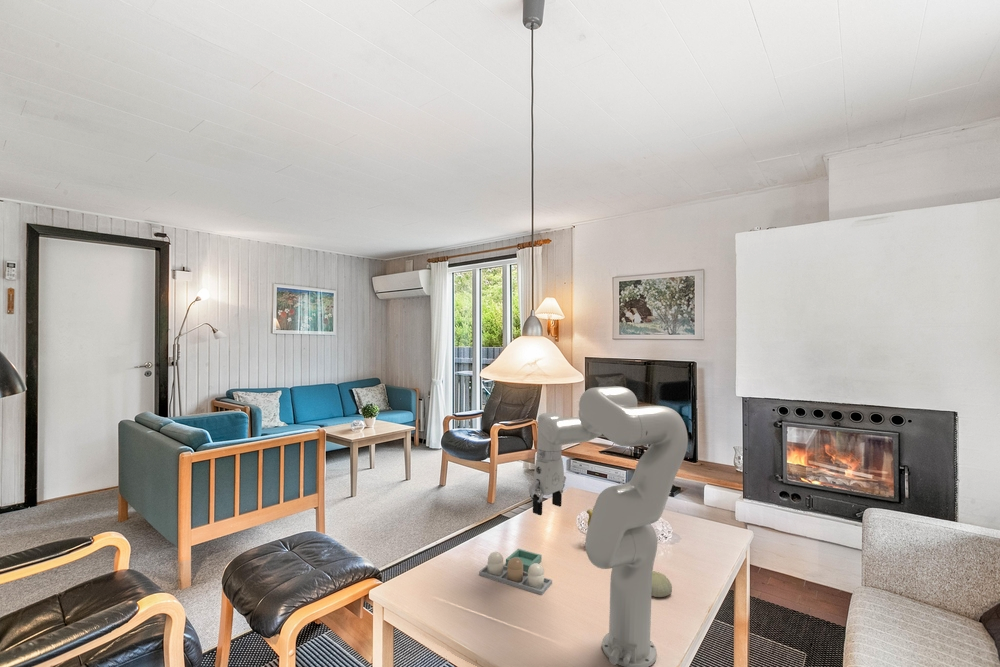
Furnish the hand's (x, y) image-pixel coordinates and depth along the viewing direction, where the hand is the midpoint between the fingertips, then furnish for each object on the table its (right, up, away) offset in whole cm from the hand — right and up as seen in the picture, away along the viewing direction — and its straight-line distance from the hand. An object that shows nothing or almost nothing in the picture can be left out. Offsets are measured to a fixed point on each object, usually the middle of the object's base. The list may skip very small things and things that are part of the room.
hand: (547, 509), depth 147 cm
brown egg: (-10, -20, -2) cm, 23 cm away
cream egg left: (-16, -20, +2) cm, 26 cm away
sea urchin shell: (+31, -22, -5) cm, 39 cm away
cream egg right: (-4, -21, -5) cm, 22 cm away
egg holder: (-7, -21, +8) cm, 23 cm away
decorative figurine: (+21, -22, +20) cm, 36 cm away
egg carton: (-10, -21, -2) cm, 23 cm away
